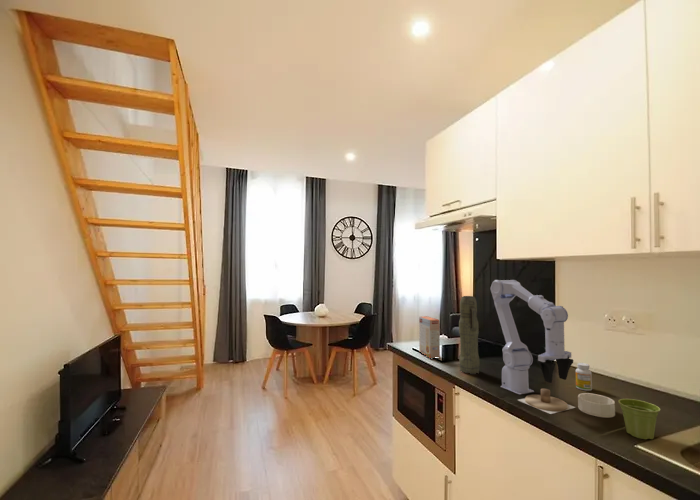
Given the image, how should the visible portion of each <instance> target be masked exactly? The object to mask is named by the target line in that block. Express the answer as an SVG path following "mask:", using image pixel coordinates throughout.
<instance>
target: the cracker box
mask: <svg viewBox="0 0 700 500" xmlns="http://www.w3.org/2000/svg"><path fill="white" fill-rule="evenodd" d="M418 319H419V320H418V321H419V322H418V324H419V325H418V326H419V331H418V332H419V335H418V336H419V338H418V339H419V345H418V346H419V349H418V350H419V352H421V353H422V354H424V355H426V356H427V357H429V358H435V357H440V353H441V352H440V351H441V350H440V342H441V341H440V340H441V339H440V319H437V318H434V317H431V316H428V315H427V316H426V315H425V316H423V315H422V316H419V318H418ZM422 354H421V355H422ZM424 355H423V356H424ZM427 357H426V358H427ZM429 358H428V359H429ZM440 358H441V357H440Z"/></svg>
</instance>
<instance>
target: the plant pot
mask: <svg viewBox="0 0 700 500" xmlns="http://www.w3.org/2000/svg"><path fill="white" fill-rule="evenodd" d="M617 402H618V404H619V405H620V406H619V407H620V408H621V412H622V415H623V421H624V425H625V430H626V431H625V432H626V433H627V434H629V435H631V436H632V437H635V438H637V439H641V440H648V439H649V440H653V439H655V433H656V432H655V430H656V423H657V418H658V415H659V413H660V412H661V408H660V407H659V406H657V405H656V404H653V403H651V402H647V401H644V400H640V399H633V398H621V399H618V400H617Z"/></svg>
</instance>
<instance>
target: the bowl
mask: <svg viewBox="0 0 700 500" xmlns="http://www.w3.org/2000/svg"><path fill="white" fill-rule="evenodd" d="M615 404H616V403H615V400H614V399H612V398H611V397H608V396H606V395H602V394H596V393H589V392H587V393H586V392H583V393H578V394H577V408H578V410H580V411H581V412H582V413H585V414H587V415H590V416H593V417H594V416H595V417H598V418H608V419H609V418H614V417H615V416H616V405H615Z"/></svg>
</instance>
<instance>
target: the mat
mask: <svg viewBox="0 0 700 500" xmlns="http://www.w3.org/2000/svg"><path fill="white" fill-rule="evenodd" d="M517 401H518V402H520V403H522V404H524V405H525V404H526V405H528V406H530V407H533V406H531V405H529V404H527V403H526V401H525V397H524V398H520V399H517ZM533 408H534V407H533ZM575 408H577V407H576V406H573V405H571V404H568V403H567V409H566V410H564V411H568V410H572V409H575ZM536 409H537V410H540V411H542V412H543V413H544V412H545V413H547V414H550V415H552V414H556V413H561V412H562V411H548V410H542V409H539V408H536ZM564 411H563V412H564Z"/></svg>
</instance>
